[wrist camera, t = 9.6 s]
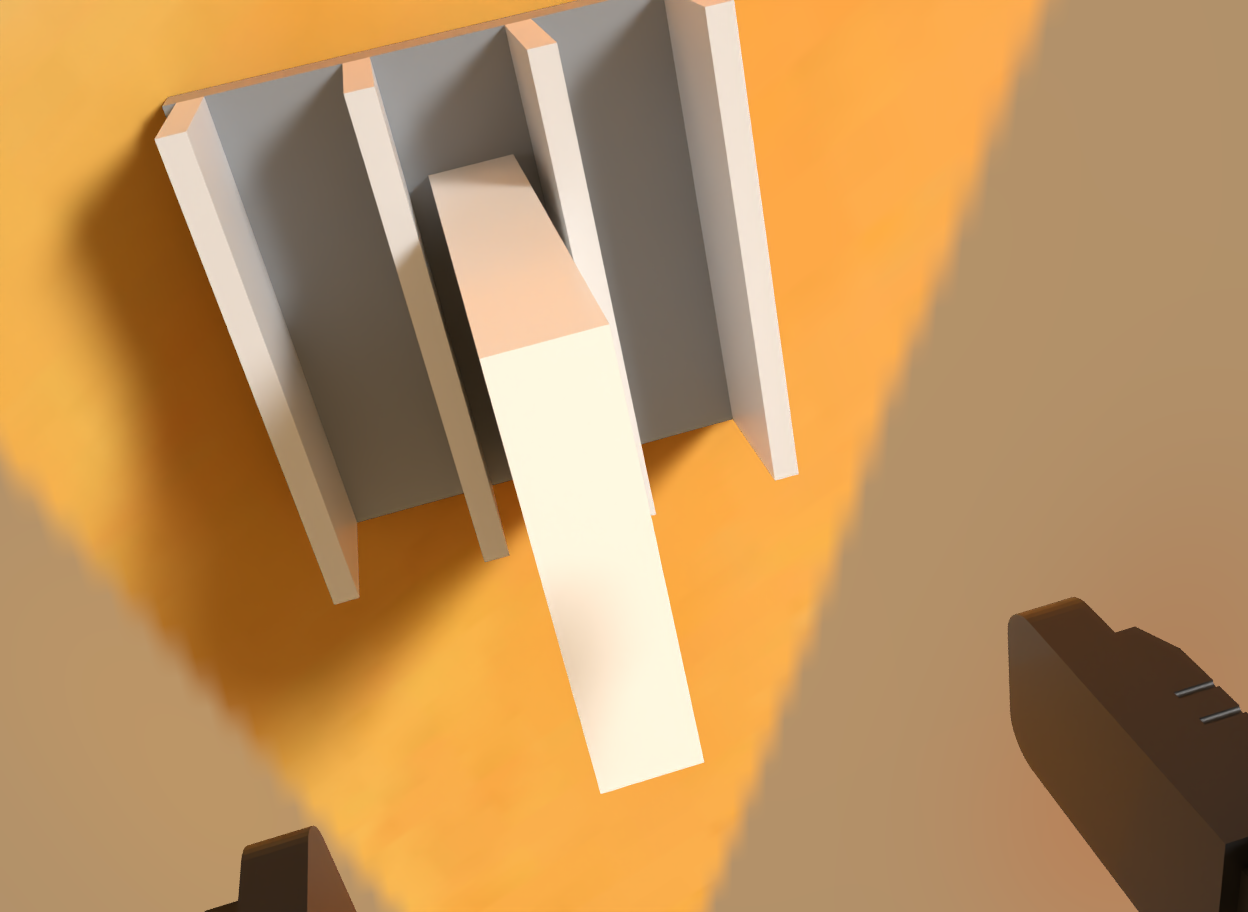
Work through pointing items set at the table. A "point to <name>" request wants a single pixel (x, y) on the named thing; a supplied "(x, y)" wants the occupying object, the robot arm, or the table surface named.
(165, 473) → the table surface
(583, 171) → the dish rack
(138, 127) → the table surface
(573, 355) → the cream upright slab
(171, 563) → the table surface
